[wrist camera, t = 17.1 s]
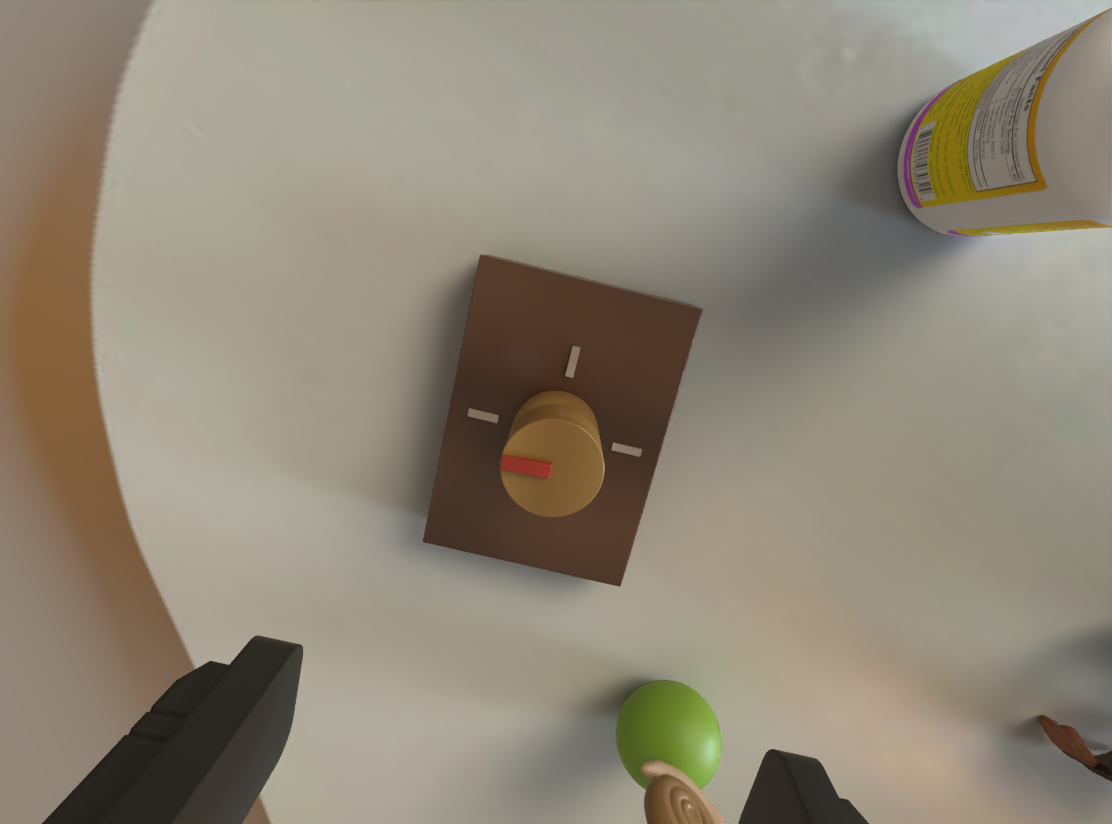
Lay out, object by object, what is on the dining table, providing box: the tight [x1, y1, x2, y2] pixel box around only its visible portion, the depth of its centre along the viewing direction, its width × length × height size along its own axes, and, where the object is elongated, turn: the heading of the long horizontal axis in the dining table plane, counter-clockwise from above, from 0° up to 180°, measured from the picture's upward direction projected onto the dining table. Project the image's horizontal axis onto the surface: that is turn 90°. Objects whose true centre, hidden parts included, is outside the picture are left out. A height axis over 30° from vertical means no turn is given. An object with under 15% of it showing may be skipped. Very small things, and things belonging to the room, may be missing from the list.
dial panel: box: [423, 255, 703, 586], centre depth 29 cm, size 14×10×3 cm
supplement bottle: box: [897, 8, 1112, 236], centre depth 21 cm, size 7×7×13 cm
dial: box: [500, 391, 604, 517], centre depth 25 cm, size 4×4×5 cm
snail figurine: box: [616, 680, 725, 824], centre depth 28 cm, size 5×6×12 cm
